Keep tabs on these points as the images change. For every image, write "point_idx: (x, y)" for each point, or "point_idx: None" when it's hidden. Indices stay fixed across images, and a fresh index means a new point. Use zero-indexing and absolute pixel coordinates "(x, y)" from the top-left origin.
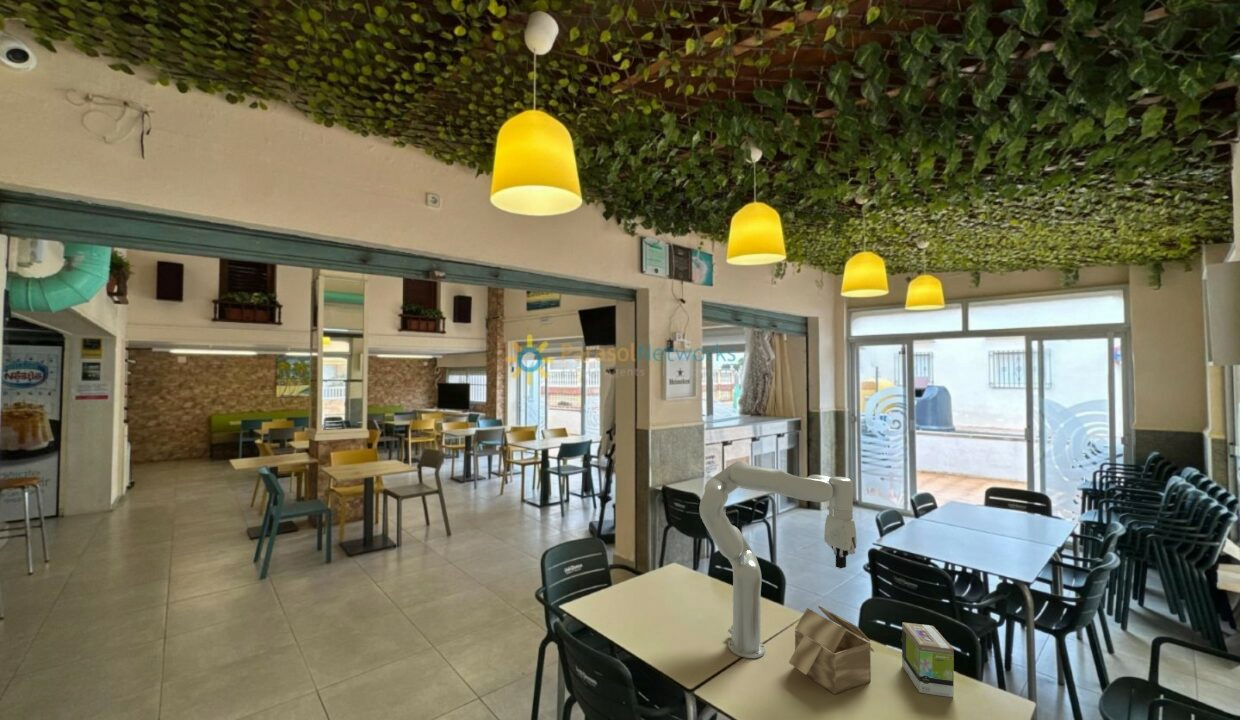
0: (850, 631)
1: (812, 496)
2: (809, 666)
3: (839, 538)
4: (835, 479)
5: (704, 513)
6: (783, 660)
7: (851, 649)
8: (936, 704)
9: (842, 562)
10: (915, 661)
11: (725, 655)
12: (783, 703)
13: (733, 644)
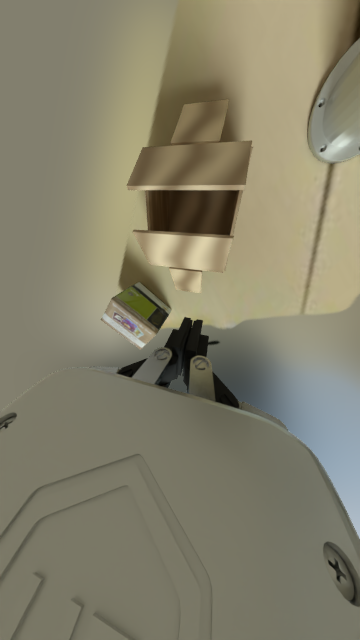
0: (184, 268)
1: None
2: (180, 114)
3: (15, 525)
4: None
5: None
6: (265, 171)
7: (147, 213)
8: (125, 278)
9: (171, 336)
10: (133, 295)
11: None
12: (189, 27)
13: None
